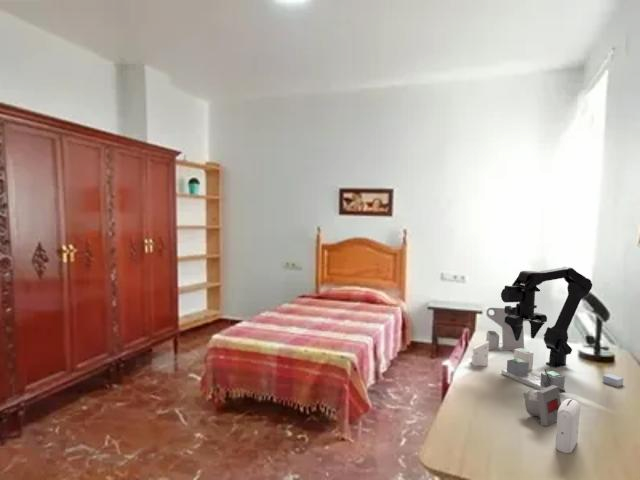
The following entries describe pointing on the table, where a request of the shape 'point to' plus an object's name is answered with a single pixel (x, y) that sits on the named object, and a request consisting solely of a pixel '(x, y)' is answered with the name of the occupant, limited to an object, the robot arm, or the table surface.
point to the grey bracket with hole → (503, 333)
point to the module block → (524, 356)
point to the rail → (520, 372)
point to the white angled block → (480, 354)
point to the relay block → (613, 380)
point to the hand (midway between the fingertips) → (524, 339)
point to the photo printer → (567, 426)
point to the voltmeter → (543, 403)
